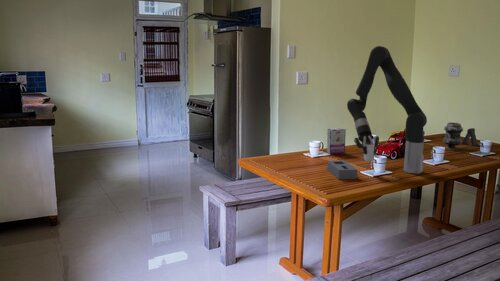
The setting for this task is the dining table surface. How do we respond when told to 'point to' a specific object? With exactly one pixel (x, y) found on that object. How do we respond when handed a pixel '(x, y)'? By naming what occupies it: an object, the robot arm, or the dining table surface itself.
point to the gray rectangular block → (369, 152)
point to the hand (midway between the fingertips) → (370, 153)
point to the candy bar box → (336, 141)
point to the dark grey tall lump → (452, 135)
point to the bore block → (342, 169)
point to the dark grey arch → (473, 138)
